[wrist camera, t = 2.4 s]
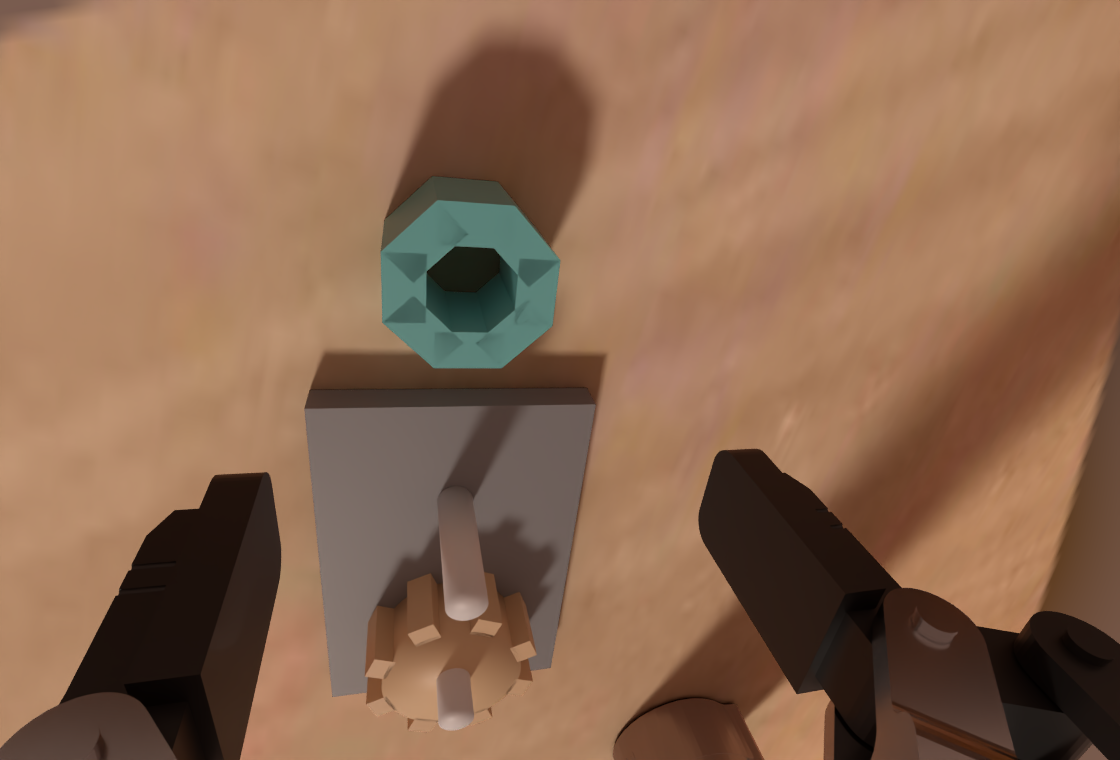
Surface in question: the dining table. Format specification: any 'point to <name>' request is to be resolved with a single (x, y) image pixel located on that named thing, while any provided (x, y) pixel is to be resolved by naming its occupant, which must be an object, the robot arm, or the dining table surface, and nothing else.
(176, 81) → the dining table surface
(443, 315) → the hollow teal octagon tube
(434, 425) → the gear board
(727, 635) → the dining table surface
